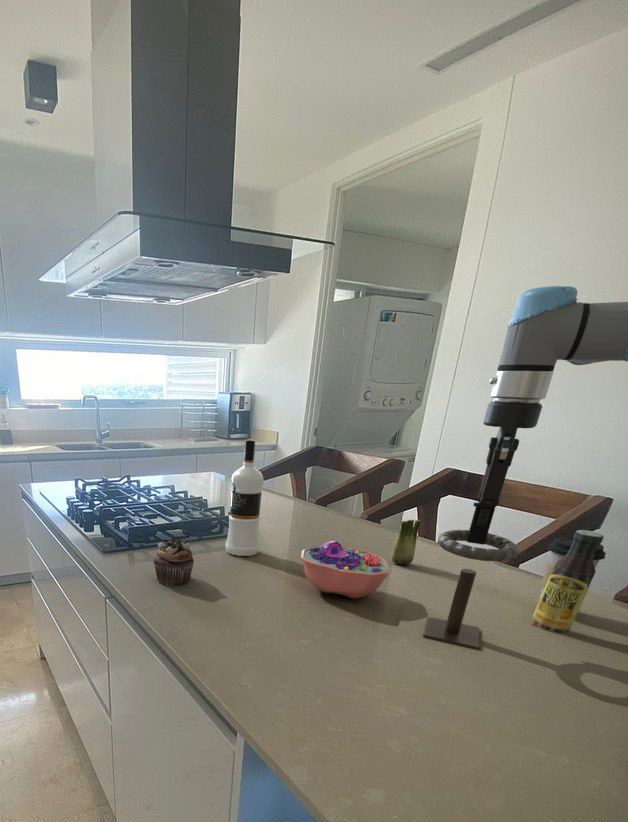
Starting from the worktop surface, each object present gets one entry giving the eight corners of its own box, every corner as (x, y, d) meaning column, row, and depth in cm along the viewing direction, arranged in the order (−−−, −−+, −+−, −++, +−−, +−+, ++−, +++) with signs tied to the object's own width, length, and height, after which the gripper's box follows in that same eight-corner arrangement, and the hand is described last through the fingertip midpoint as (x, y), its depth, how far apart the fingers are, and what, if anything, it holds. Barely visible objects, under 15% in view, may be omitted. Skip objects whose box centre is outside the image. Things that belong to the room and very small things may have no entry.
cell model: (353, 618, 99) (363, 565, 94) (280, 586, 113) (285, 539, 108) (400, 599, 108) (411, 550, 103) (326, 572, 122) (333, 528, 118)
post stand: (477, 634, 93) (497, 568, 88) (477, 654, 86) (499, 584, 80) (425, 623, 97) (442, 559, 92) (421, 641, 90) (439, 573, 84)
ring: (512, 546, 87) (516, 535, 86) (518, 568, 77) (522, 556, 76) (438, 534, 92) (441, 524, 91) (434, 554, 82) (437, 543, 81)
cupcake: (201, 579, 116) (203, 539, 112) (173, 590, 110) (174, 548, 106) (173, 569, 122) (173, 530, 118) (144, 579, 116) (144, 539, 112)
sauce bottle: (525, 628, 96) (559, 530, 87) (535, 619, 99) (569, 525, 91) (564, 641, 91) (605, 539, 83) (574, 631, 95) (613, 533, 87)
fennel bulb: (410, 561, 131) (420, 517, 126) (415, 567, 127) (426, 522, 122) (387, 560, 132) (396, 516, 127) (392, 566, 127) (402, 521, 122)
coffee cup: (535, 615, 101) (560, 546, 95) (522, 598, 109) (544, 534, 103) (589, 622, 99) (618, 552, 92) (571, 604, 107) (597, 539, 101)
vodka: (262, 557, 132) (272, 442, 120) (228, 557, 131) (235, 441, 119) (254, 546, 140) (263, 438, 128) (222, 547, 139) (229, 437, 127)
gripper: (487, 399, 86) (453, 527, 96) (490, 401, 74) (451, 548, 84) (538, 400, 83) (497, 534, 93) (549, 403, 71) (501, 556, 80)
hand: (475, 540), depth 88 cm, fingers closed on ring, 2 cm apart
